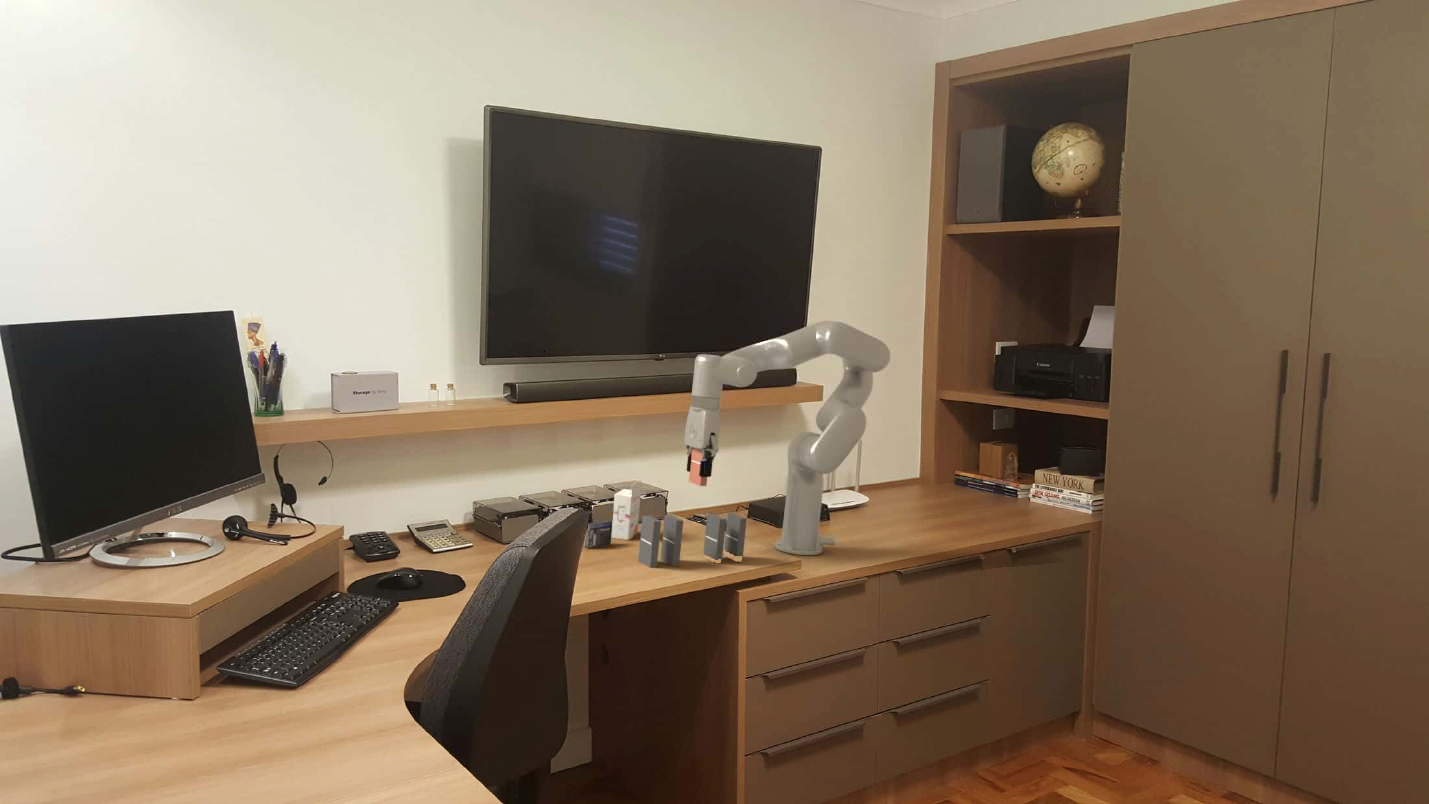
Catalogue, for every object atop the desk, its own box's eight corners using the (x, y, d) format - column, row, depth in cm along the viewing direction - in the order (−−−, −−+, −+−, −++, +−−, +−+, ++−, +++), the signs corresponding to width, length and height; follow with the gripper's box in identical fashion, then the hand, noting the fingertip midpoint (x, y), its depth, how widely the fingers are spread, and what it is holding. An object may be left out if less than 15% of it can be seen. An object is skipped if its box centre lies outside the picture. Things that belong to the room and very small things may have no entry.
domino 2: (667, 559, 245) (671, 514, 244) (679, 565, 240) (683, 520, 239) (660, 559, 244) (664, 515, 243) (672, 566, 239) (676, 520, 238)
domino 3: (695, 481, 259) (699, 439, 258) (706, 486, 254) (710, 442, 253) (688, 481, 258) (692, 438, 257) (699, 486, 253) (704, 442, 252)
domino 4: (709, 556, 252) (713, 513, 251) (721, 563, 247) (726, 519, 246) (702, 557, 251) (707, 513, 250) (715, 563, 246) (719, 519, 245)
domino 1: (645, 560, 242) (649, 515, 241) (656, 567, 237) (661, 521, 236) (638, 560, 241) (642, 515, 240) (649, 567, 236) (654, 521, 235)
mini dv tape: (587, 549, 248) (589, 525, 248) (583, 547, 249) (585, 523, 248) (610, 544, 255) (612, 521, 254) (606, 543, 256) (608, 520, 255)
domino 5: (729, 555, 255) (733, 513, 254) (742, 562, 250) (746, 518, 249) (723, 556, 254) (727, 513, 253) (736, 562, 249) (740, 518, 248)
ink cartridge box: (619, 531, 270) (624, 477, 268) (637, 534, 269) (642, 479, 267) (610, 538, 261) (615, 482, 260) (628, 540, 260) (633, 484, 259)
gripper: (676, 398, 260) (670, 467, 262) (709, 407, 245) (702, 480, 247) (702, 400, 264) (695, 467, 265) (735, 408, 249) (728, 480, 251)
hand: (698, 473), depth 256 cm, fingers closed on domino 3, 5 cm apart
